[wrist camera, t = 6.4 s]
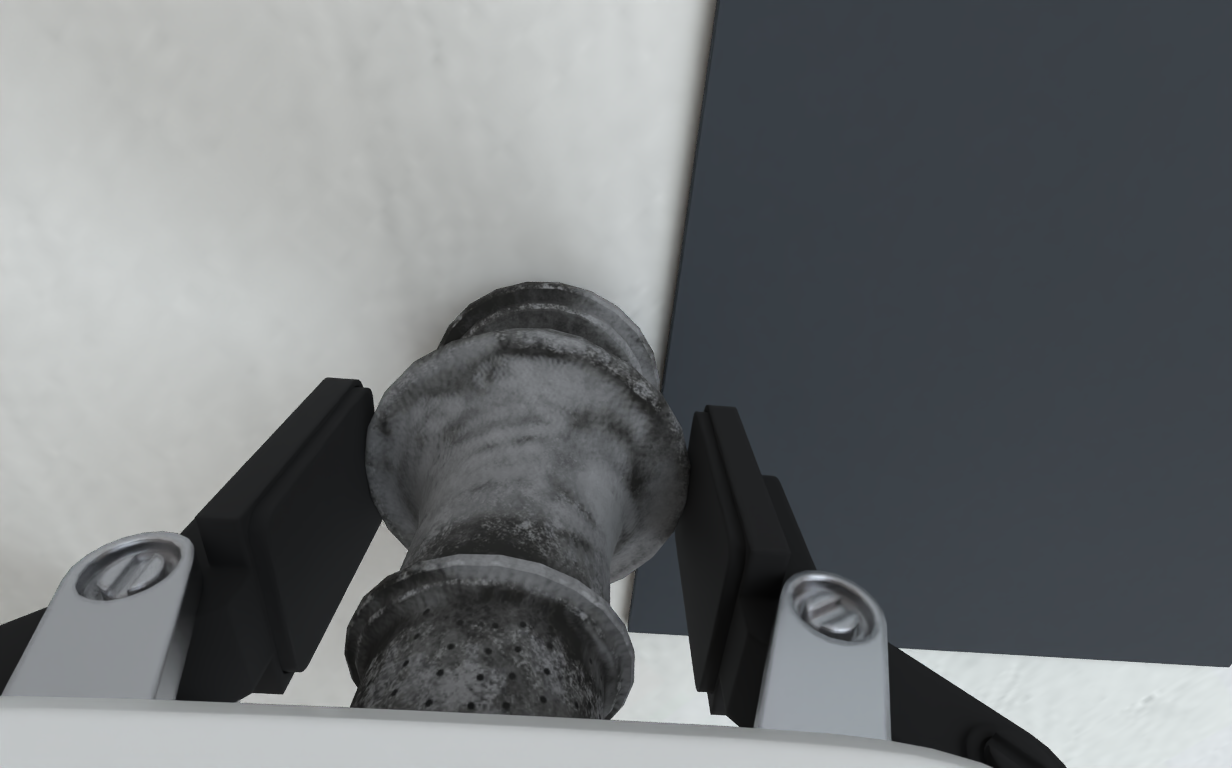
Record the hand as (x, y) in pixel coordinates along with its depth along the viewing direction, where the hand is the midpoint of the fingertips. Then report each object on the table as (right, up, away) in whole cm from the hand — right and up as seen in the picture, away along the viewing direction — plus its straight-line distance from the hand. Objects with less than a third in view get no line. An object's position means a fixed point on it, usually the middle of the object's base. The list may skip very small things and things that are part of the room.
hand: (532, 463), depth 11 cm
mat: (+13, +1, +4) cm, 13 cm away
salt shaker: (0, +1, +3) cm, 3 cm away
